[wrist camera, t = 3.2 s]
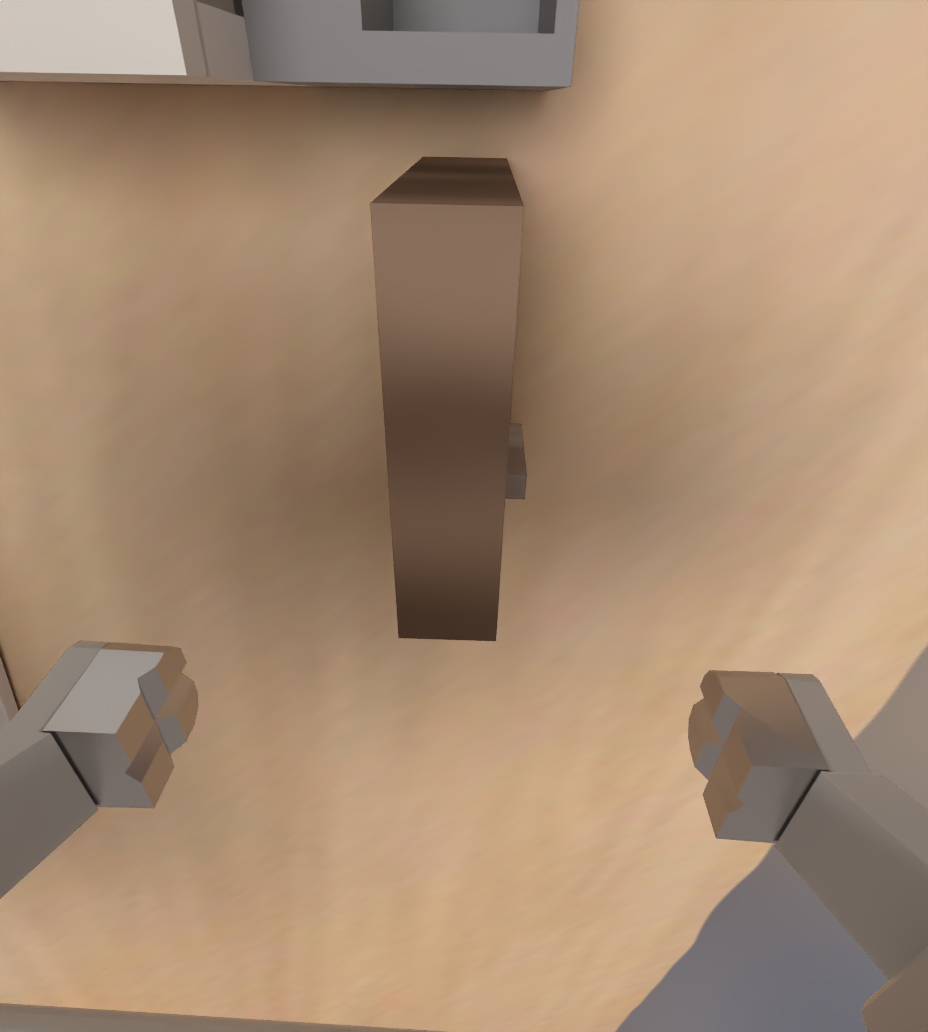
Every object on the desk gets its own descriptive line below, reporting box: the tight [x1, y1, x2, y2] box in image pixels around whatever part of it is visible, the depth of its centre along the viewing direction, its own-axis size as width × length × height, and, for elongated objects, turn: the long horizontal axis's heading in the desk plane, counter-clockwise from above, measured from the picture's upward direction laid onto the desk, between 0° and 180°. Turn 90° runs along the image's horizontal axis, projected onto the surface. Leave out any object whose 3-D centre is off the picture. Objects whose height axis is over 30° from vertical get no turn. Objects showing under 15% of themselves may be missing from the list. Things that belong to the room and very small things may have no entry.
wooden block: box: [370, 157, 527, 641], centre depth 20 cm, size 12×4×12 cm, turn 179°
